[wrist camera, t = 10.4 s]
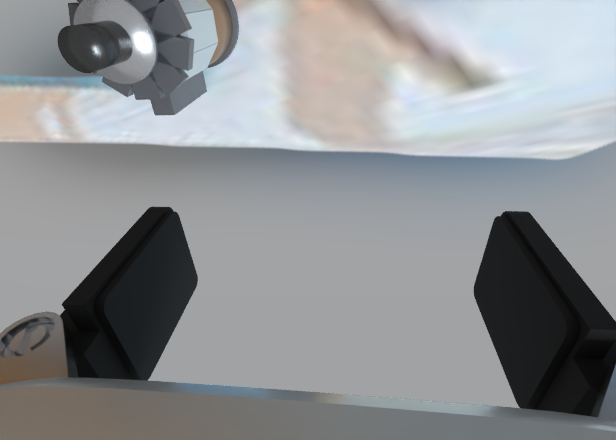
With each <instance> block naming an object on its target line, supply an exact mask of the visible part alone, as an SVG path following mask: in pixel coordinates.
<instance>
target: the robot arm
mask: <svg viewBox="0 0 616 440" xmlns="http://www.w3.org/2000/svg"><path fill="white" fill-rule="evenodd" d="M197 281H198V278H197V274H196V270H195V267H194V264H193V260H192V257H191V254H190V250H189V247H188V244H187V241H186V237H185V234H184V231H183V228H182V224H181V221H180V218H179V215H178V213H177V212H173V210H172V209H171V208H170V207H150V208H149V209H148V210H147V211H146V212H145V213H144V214H143V215H142V216H141V217H140V218H139V220H138V221H137V222H136V223H135V224H134V225H133V226H132V227H131V228H130V229H129V231H128V232H127V233H126V234H125V235H124V236H123V237H122V238H121V239H120V241H119V242H118V243H117V244H116V245H115V246H114V247H113V248H112V249H111V250H110V251H109V253H108V254H107V255H106V256H105V257H104V258H103V259H102V260H101V261H100V262H99V264H98V265H97V266H96V267H95V268H94V269H93V270H92V271H91V272H90V274H89V275H88V276H87V277H86V278H85V279H84V280H83V281H82V282H81V283H80V285H79V286H78V287H77V288H76V289H75V290H74V291H73V292H72V293H71V294H70V296H69V297H68V298H67V299H66V300H65V301H64V302H63V304H62V305H63V307H64V309H65V310H64V312H63V313H62V314H61V315H58V314H56V313H53V312H42V313H36V314H33V315H30V316H27V317H24V318H22V319H20V320H18V321H16V322H15V323H13V324H12V325H10V326H9V327H7V328H6V329H5V330H4V331H3V332H1V333H0V440H616V321H615V320H614V319H613V318H612V316H611V315H610V314H609V313H608V311H607V310H606V309H605V308H604V306H603V305H602V304H601V302H600V301H599V300H598V299H597V297H595V295H594V294H593V292H592V291H591V290H590V289H589V287H588V286H587V285H586V283H585V282H584V281H583V280H582V278H581V277H580V276H579V275H578V273H577V272H576V271H575V270H574V269H573V267H572V266H571V264H570V263H569V262H568V261H567V259H566V258H565V257H564V256H563V255H562V253H561V252H560V251H559V249H558V248H557V247H556V246H555V244H554V243H553V242H552V240H551V239H550V238H549V237H548V236H547V234H546V233H545V232H544V230H543V229H542V228H541V227H540V225H539V224H538V223H537V222H536V220H535V219H534V218H533V216H532V215H531V214H530V213H529V212H517V211H514V212H512V211H505V212H503V214H502V215H501V216H497V217H496V218H495V219H494V222H493V225H492V229H491V232H490V235H489V239H488V242H487V245H486V248H485V252H484V255H483V259H482V262H481V265H480V268H479V272H478V275H477V278H476V282H475V285H474V296H475V299H476V302H477V305H478V307H479V310H480V312H481V315H482V317H483V320H484V322H485V325H486V327H487V330H488V332H489V334H490V337H491V339H492V342H493V345H494V347H495V349H496V352H497V355H498V357H499V359H500V362H501V364H502V367H503V370H504V372H505V375H506V377H507V379H508V382H509V385H510V387H511V389H512V392H513V395H514V397H515V399H516V402H517V404H518V406H519V407H520V408H510V407H500V406H489V405H478V404H466V403H452V402H440V401H427V400H413V399H401V398H387V397H375V396H360V395H348V394H333V393H320V392H306V391H292V390H278V389H264V388H249V387H235V386H220V385H205V384H190V383H175V382H159V381H147V380H148V379H149V378H150V376H151V374H152V372H153V370H154V368H155V366H156V364H157V362H158V361H159V359H160V357H161V355H162V353H163V351H164V349H165V347H166V345H167V343H168V341H169V339H170V337H171V335H172V333H173V331H174V329H175V327H176V325H177V323H178V321H179V320H180V317H181V316H182V314H183V312H184V310H185V308H186V306H187V304H188V302H189V300H190V298H191V296H192V294H193V292H194V290H195V288H196V286H197Z"/></svg>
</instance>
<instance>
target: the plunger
mask: <svg viewBox="0 0 616 440" xmlns="http://www.w3.org/2000/svg"><path fill="white" fill-rule="evenodd" d="M58 46H59V49H60V52H61V54H62V56H63V58H64V59H65V60H66V61H67V63H68V64H69V65H70V66H72V67H73V68H74V69H76V70H78V71H80V72H83V73H91V72H95V71H97V72H98V73H99V74H101V75H102V76H104V77H105V78H107V79H109V80H111V81H114V82H117V83H121V84H132V83H136V82H138V81H141V80H143V79H145V78H146V77H148V76H149V75H150V74H151V73H152V72H153V70H154V69H155V67H156V64H157V61H158V53H159V49H158V42H157V38H156V35H155V32H154V29H153V27H152V25H151V24H150V22H149V20H148V19H147V17H146V16H145V15H144V14H143V12H142V11H141V10H140V9H139V8H138V7H137V6H135V5H134V4H133V3H132V2H130V1H128V0H83V1H82V2H81V3H80V4H79V6H78V8H77V10H76V12H75V16H74V25H72V26H66V27H64V28H63V29H62V30H61V31H60V33H59V35H58Z"/></svg>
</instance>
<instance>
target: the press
mask: <svg viewBox="0 0 616 440" xmlns="http://www.w3.org/2000/svg"><path fill="white" fill-rule="evenodd" d="M77 1H78V2H79V3H81V2H82V1H83V0H77ZM128 1H130V2H132V3H133V4H134V5H135V6H137V7H138V8H139V9H140V10H141V11H142V12H143V14H144V15H145V16H146V17H147V19H148V20H149V22H150V24H151V25H152V27H153V29H154V32H155V35H156V38H157V42H158V49H159V53H158V61H157V64H156V67H155V69H154V70H153V72H152V73H151V74H150V75H149V76H148V77H146V78H145V79H143V80H141V81H138V82H136V83H132V84H121V83H117V82H114V81H111V80H109V79H107V78H105V77H104V76H103V79H102V82H103V83H105V84H107V85H108V86H110V87H112V88H113V89H115V90H117V91H118V92H120V93H121V94H123V95H125V96H126V97H128V96H130V95H133V93H134V95H135V98H136V100H144V99H150V100H151V104H152V107H153V111H154V114H155V115H175V114H177V113H178V112H179V111H181V110H182V109H183V108H185V107H186V106H187V105H189V104H190V103H192V102H193V101H194V100H196V99H197V98H198V97H200V96H201V95H202V94H204V93H205V92H207V90H206V85H205V80H204V75H203V70H205V69H206V68H210V67H213V66H216V65H218V64H220V63H221V62H223V61H224V60H225V59H227V58H228V57H229V55H230V54H231V53H232V51H233V50H234V48H235V45H236V42H237V39H238V32H239V24H238V17H237V13H236V9H235V6H234V4H233V2H232V0H128ZM79 3H68V7H69V15H70V24H71V26H72V25H74V16H75V12H76V10H77V8H78V6H79ZM93 73H94V74H95V73H98V72H97V71H95V72H93Z"/></svg>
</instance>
